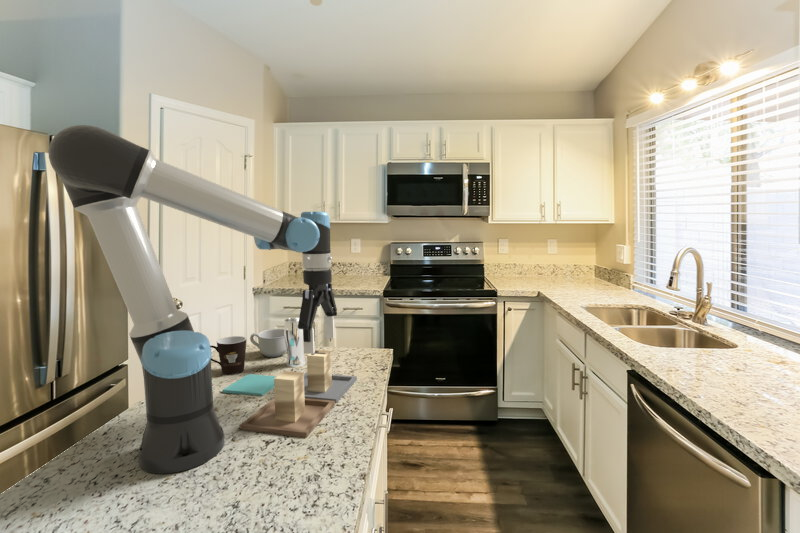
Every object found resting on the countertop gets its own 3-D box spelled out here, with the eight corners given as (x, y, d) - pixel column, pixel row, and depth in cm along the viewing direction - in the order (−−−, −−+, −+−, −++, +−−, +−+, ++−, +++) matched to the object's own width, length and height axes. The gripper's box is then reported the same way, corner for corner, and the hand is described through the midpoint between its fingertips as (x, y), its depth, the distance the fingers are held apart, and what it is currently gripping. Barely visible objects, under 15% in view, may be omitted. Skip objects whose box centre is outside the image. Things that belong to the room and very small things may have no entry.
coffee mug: (252, 366, 129) (251, 336, 128) (239, 376, 121) (238, 344, 120) (218, 365, 130) (217, 335, 129) (203, 375, 122) (201, 343, 121)
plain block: (295, 422, 92) (293, 380, 91) (275, 420, 93) (273, 378, 92) (304, 412, 97) (303, 372, 96) (286, 410, 98) (284, 371, 97)
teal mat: (262, 396, 106) (262, 393, 106) (222, 392, 109) (222, 389, 109) (284, 379, 118) (284, 377, 118) (248, 376, 121) (248, 373, 121)
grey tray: (336, 403, 102) (336, 399, 102) (279, 398, 105) (279, 393, 105) (356, 380, 117) (356, 376, 117) (306, 376, 121) (306, 372, 121)
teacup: (296, 351, 145) (295, 329, 145) (279, 360, 135) (278, 337, 134) (262, 348, 149) (261, 327, 148) (244, 357, 139) (243, 334, 138)
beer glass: (281, 367, 129) (279, 321, 127) (291, 360, 135) (290, 316, 134) (300, 368, 127) (299, 322, 126) (310, 361, 134) (309, 317, 132)
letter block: (324, 392, 108) (324, 356, 107) (307, 390, 109) (306, 355, 108) (331, 385, 113) (331, 350, 112) (315, 383, 114) (314, 349, 113)
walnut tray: (306, 438, 85) (306, 432, 85) (240, 430, 89) (239, 424, 89) (334, 405, 101) (334, 401, 101) (277, 399, 104) (277, 395, 104)
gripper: (309, 275, 95) (313, 361, 97) (346, 264, 119) (348, 333, 121) (281, 274, 97) (285, 359, 99) (323, 264, 121) (325, 332, 123)
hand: (320, 345), depth 110 cm, fingers open, 13 cm apart
